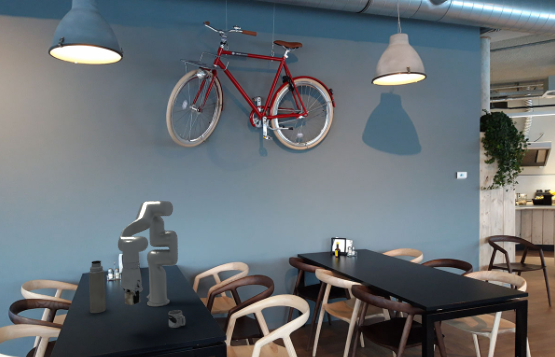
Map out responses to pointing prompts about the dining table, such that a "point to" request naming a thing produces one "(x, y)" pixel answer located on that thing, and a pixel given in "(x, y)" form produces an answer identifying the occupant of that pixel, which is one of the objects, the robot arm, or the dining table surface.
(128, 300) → the birch cube
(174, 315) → the mug
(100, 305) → the thermos bottle
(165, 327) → the dining table surface
